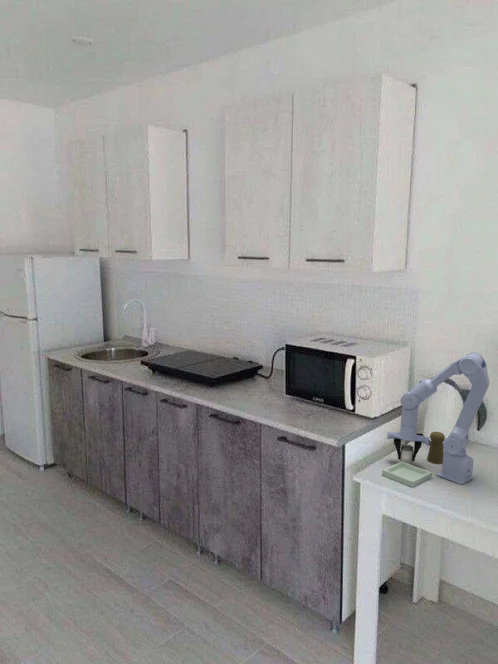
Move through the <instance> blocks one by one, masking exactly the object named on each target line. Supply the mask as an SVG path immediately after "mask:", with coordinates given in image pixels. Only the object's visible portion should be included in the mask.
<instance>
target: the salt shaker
mask: <svg viewBox="0 0 498 664" xmlns="http://www.w3.org/2000/svg"><path fill="white" fill-rule="evenodd" d="M400 451H401V453H400V460H399V462H401V461H402V462H405V463H408V464H410V465H413V461H412V460H413V452H414V446H413V445H411V444H406V443H405V444H401V448H400Z"/></svg>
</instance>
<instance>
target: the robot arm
mask: <svg viewBox="0 0 498 664" xmlns="http://www.w3.org/2000/svg"><path fill="white" fill-rule="evenodd" d="M455 375H456V376H460V375H464V376H465V377H466V378H467V379H468V381H469V382H470V384H471V387H470V389H469V392H468V394H467V396H466V399H465V402H464V403H463V406H462V408H461V411H459V415H458V418H457V420H456V422H455V425H454V426H453V428H452V430H451V432H450V433H449V435H448V436H447V437H445V440H444V442H443V463H442V464H441V465H442V466H441V471H439V472H438V473H436V475H437V476H438V477H440V478H443V479H446V480H449V481H451V482H454V483H457V484H460V485H464V484H465V483H467V482H469V481H471V480H473V478H474V477H473V469H474V459H473V458H472V457H471V456H469V455H468V454H467V450H466V446H467V445H468V442H469V437H468V436H469V433H470V429H471V427H472V424H473V422H474V419H475V418H476V416H477V413H478V412H479V409H480V406H481V405H482V402H483V400H484V397H485V395H486V393H487V391H488V389H489V387H490V377H489V374H488V364H487V361H486V360H485V359H484V357H483V356H482V354H480V353H478V352H470V353H467V355H465V356H463V357H461V358H459V359H456V360H455V361H453V362H451V363H450V364H449V365H447V366H446V367H445V368H444V369H443V370H440V372H439V373H438V374H436V375H435V376H434V377H432V378H424V379H420V380H419V381H418V384H417V385H415V386H414V387H410V388H409V389H408V392H407V391H406V393H404V394H403V395H402V396H401V397H400V404H401V407H402V408H401V414H400V415H401V418H400V431H399V432H389V431H388V432H387V437H386V439H387V440H393V444H394V447H395V450H396V452H397V460H399V461H400V453H401V447H402V441H404V442H405V441H406V442H414V446H413V460H412V463H413V462H414V463H415V460H416V458H417V456H418V455H417V454H418V452H419V451H420V449H421V448H422V445H423V444H425V445H429V444H430V443H429V442H430V436H429V437H427V436H423V435H418V434H417V432H418V419H419V406H420V405H421V403H422V402H424V401H425V400H427V399H429V398H430V397H431V396H432V395H434V394H435V393H437V389H438V386H440V385H441V384H442V383H444V382H446V380H448V379H450V378H451V377H453V376H455Z"/></svg>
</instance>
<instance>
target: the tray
mask: <svg viewBox="0 0 498 664" xmlns="http://www.w3.org/2000/svg"><path fill="white" fill-rule="evenodd" d="M381 473H382V474H381V476H383V477H385V478H388V479H389V480H392V481H396V482H397V483H399V484H402V485H405V486H407V487H410V488H415V487H417V486H419V485H421V484H423V483H424V482H426V481H428V480H430V479H432V476H433V472H432V471H429V470H427V469H424V468H421V467H418V466H415V465H413V464H412V465H410V464H408V463H405V462H402V461H401V462H400V461H398V462H397V463H395V464H392V465H390V466H388V467H387V468H384V469H382V472H381Z"/></svg>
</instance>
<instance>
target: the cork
mask: <svg viewBox="0 0 498 664" xmlns="http://www.w3.org/2000/svg"><path fill="white" fill-rule="evenodd" d="M445 439H446V437H445V434H444V433H443V432H440V431H432V432H431V433H430V435H429V440H430V443H429V444H430V445H429V448H428V453H427V459H426V460H428V461H427V462H428V463H431V464H435V465H440V464H441V465H443V453H444V448H443V442H444V440H445Z"/></svg>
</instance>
